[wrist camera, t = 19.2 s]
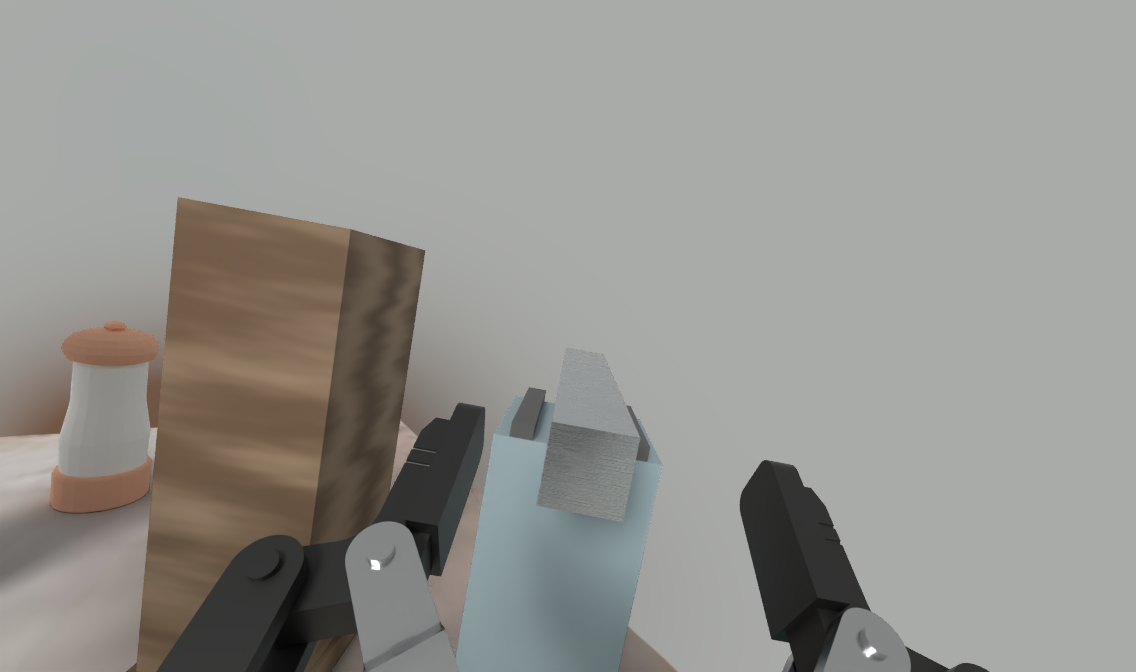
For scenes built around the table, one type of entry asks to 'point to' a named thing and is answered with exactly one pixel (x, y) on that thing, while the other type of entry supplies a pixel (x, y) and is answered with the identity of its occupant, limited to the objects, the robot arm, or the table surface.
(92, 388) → the pepper shaker
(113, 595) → the table surface
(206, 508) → the tall stand
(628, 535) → the blue grey angular block
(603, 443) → the steel bar
